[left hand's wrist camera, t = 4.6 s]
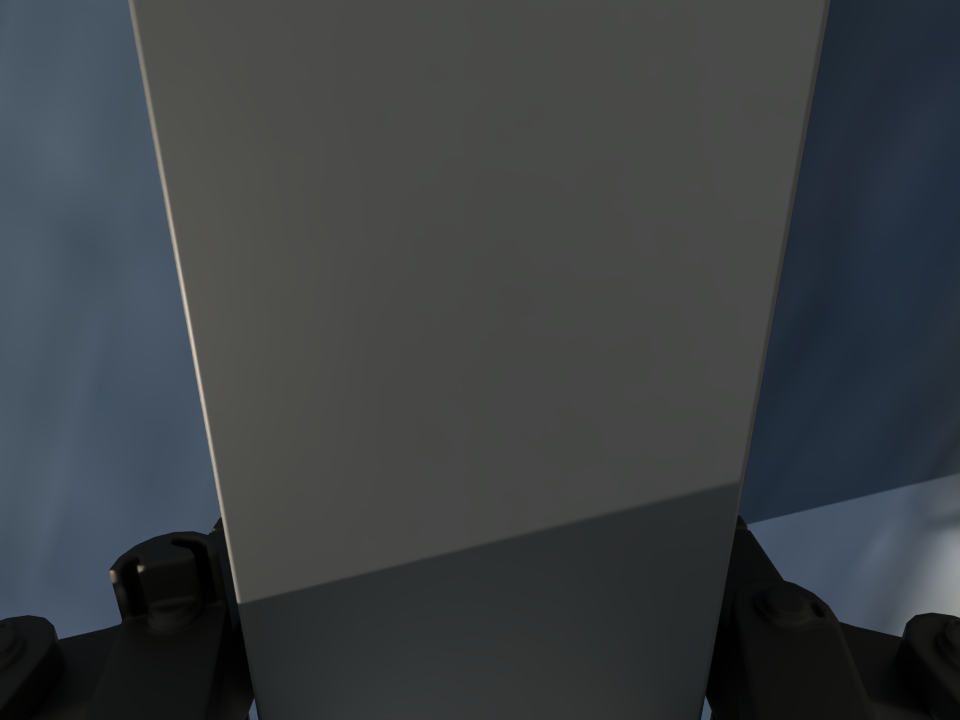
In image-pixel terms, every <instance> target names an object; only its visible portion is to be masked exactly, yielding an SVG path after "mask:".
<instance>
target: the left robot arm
mask: <svg viewBox="0 0 960 720" xmlns="http://www.w3.org/2000/svg"><path fill="white" fill-rule="evenodd" d="M109 573H110V576H111V580H112V584H113V588H114V591H115V595H116V599H117V602H118V606H119V610H120V613H121V617H122V623H121V624H120V625H116V626H113V627H110V628H107V629H103V630H98V631H94V632H90V633H86V634H81V635H77V636H73V637H68V638H64V639H60V640H58V637H57V634H56V631H55V628H54V625H52V624H51V623H50V622H49V621H48V620H47V619H46V618H43V617H37V616H30V615H27V616H19V617H12V618H6V619H3V620H1V621H0V720H250V718H249V710H250V707H251V705H252V702H253V700H254V692H253V686H252V681H251V675H250V670H249V664H248V659H247V653H246V648H245V642H244V637H243V631H242V626H241V620H240V615H239V609H238V604H237V598H236V593H235V587H234V582H233V576H232V571H231V565H230V560H229V554H228V549H227V543H226V538H225V532H224V527H223V521H222V518H220V519H219V520H218V522H217V523H216V525H215V526H214V527H213V532H212V533H209V535H206V534H202V533H198V532H194V531H190V532H173V533H169V534H165V535H161V536H157V537H154V538H151V539H149V540H147V541H145V542H142V543H140V544H138V545H136V546H134V547H133V548H131V549H130V550H129V551H127V552H126V553H125V554H123V555H122V556H120V557H119V558H118V559H117V561H116V562H115V563H114V565H113V566H112V567H111V569H110V570H109ZM705 695H706V698H707V700H708V703H709V705H710V708H711V710H712V712H711V718H710V720H960V618H959V617H956V616H953V615H945V614H938V613H926V614H920V615H915V616H914V617H913V618H912V619H911V620H910V621H908V622H907V623H906V626H905V629H904V633H903V636H902V637H898V636H894V635H890V634H885V633H881V632H877V631H872V630H868V629H864V628H859V627H855V626H852V625H849V624H845V623H842V622H839V621H838V619H837V618H836V616H835V615H834V613H833V612H832V610H831V609H830V607H829V606H828V605H827V604H826V603H825V602H824V601H822V600H821V599H820V598H819V597H817V596H816V595H815V594H814V593H812V592H810V591H808V590H806V589H804V588H802V587H801V586H799V585H797V584H795V583H791V582H787V581H784V580H783V578H782V577H781V575H780V574H779V572H778V571H777V570H776V568H775V567H774V565H773V564H772V562H771V561H770V559H769V558H768V556H767V555H766V553H765V552H764V550H763V549H762V547H761V546H760V545H759V543H758V542H757V540H756V539H755V537H754V536H753V534H752V533H751V531H750V530H748V529H747V525H746V524H745V522H744V521H743V520H742V518H741V517H740V516H738V517H737V522H736V528H735V533H734V539H733V544H732V550H731V556H730V561H729V567H728V572H727V578H726V583H725V589H724V594H723V600H722V605H721V611H720V616H719V622H718V628H717V633H716V639H715V644H714V650H713V655H712V661H711V666H710V672H709V677H708V683H707V688H706V694H705Z"/></svg>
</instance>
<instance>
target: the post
mask: <svg viewBox="0 0 960 720" xmlns="http://www.w3.org/2000/svg"><path fill="white" fill-rule="evenodd" d="M830 2H831V0H128V3H129V8H130V14H131V19H132V25H133V30H134V36H135V41H136V47H137V52H138V58H139V64H140V69H141V75H142V80H143V86H144V91H145V97H146V102H147V108H148V113H149V119H150V124H151V130H152V135H153V141H154V146H155V152H156V157H157V163H158V168H159V174H160V179H161V185H162V190H163V196H164V201H165V207H166V212H167V218H168V223H169V229H170V234H171V240H172V245H173V251H174V256H175V262H176V267H177V273H178V278H179V284H180V290H181V295H182V301H183V306H184V312H185V317H186V323H187V328H188V334H189V339H190V345H191V350H192V356H193V361H194V367H195V372H196V378H197V383H198V389H199V394H200V400H201V405H202V411H203V416H204V422H205V427H206V433H207V438H208V444H209V449H210V455H211V460H212V466H213V471H214V477H215V482H216V488H217V493H218V499H219V504H220V510H221V516H222V521H223V527H224V532H225V538H226V543H227V549H228V554H229V560H230V565H231V571H232V576H233V582H234V587H235V593H236V598H237V604H238V609H239V615H240V620H241V626H242V631H243V637H244V642H245V648H246V653H247V659H248V664H249V670H250V675H251V681H252V686H253V692H254V697H255V703H256V708H257V714H258V719H259V720H701V716H702V711H703V705H704V700H705V694H706V688H707V683H708V677H709V672H710V666H711V661H712V655H713V650H714V644H715V639H716V633H717V628H718V622H719V616H720V611H721V605H722V600H723V594H724V589H725V583H726V578H727V572H728V567H729V561H730V556H731V550H732V544H733V539H734V533H735V528H736V522H737V517H738V511H739V506H740V500H741V495H742V489H743V484H744V478H745V472H746V467H747V461H748V456H749V450H750V445H751V439H752V434H753V428H754V423H755V417H756V412H757V406H758V400H759V395H760V389H761V384H762V378H763V373H764V367H765V362H766V356H767V351H768V345H769V340H770V334H771V328H772V323H773V317H774V312H775V306H776V301H777V295H778V290H779V284H780V279H781V273H782V268H783V262H784V256H785V251H786V245H787V240H788V234H789V229H790V223H791V218H792V212H793V207H794V201H795V196H796V190H797V184H798V179H799V173H800V168H801V162H802V157H803V151H804V146H805V140H806V135H807V129H808V124H809V118H810V112H811V107H812V101H813V96H814V90H815V85H816V79H817V74H818V68H819V63H820V57H821V52H822V46H823V40H824V35H825V29H826V24H827V18H828V13H829V7H830Z"/></svg>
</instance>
